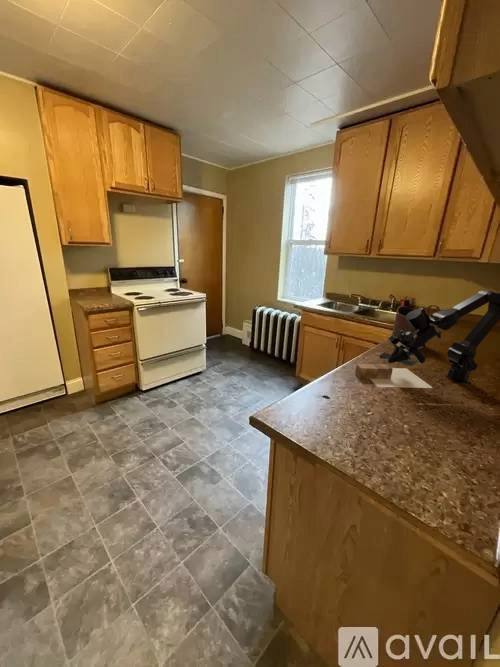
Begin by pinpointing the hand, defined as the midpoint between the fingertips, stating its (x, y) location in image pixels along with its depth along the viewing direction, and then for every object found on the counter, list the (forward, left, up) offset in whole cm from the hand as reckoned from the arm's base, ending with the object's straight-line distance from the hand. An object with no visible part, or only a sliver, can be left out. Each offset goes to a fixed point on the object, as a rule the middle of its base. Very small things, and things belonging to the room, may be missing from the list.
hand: (388, 362), depth 114 cm
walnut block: (-1, 0, -4) cm, 4 cm away
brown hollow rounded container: (-37, -44, -7) cm, 58 cm away
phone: (-16, -20, -8) cm, 27 cm away
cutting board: (-3, 0, -7) cm, 8 cm away
